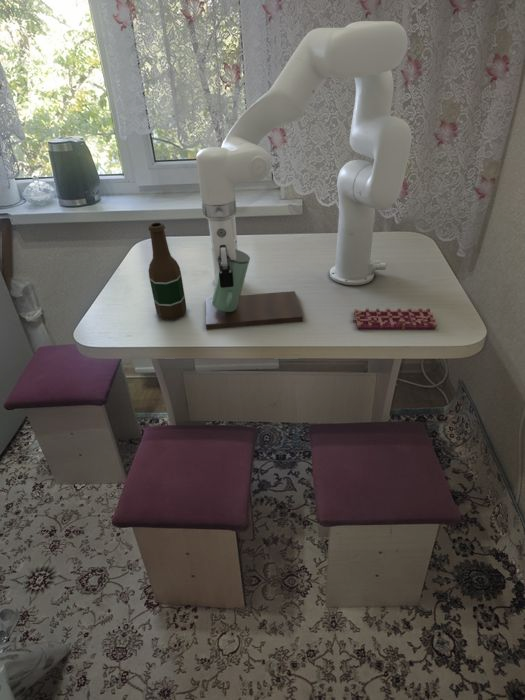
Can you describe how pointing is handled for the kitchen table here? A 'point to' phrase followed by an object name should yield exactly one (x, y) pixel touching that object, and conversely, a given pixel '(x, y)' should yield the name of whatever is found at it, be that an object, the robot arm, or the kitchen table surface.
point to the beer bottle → (165, 277)
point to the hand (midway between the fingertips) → (226, 278)
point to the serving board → (256, 311)
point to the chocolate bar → (394, 319)
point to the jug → (230, 296)
